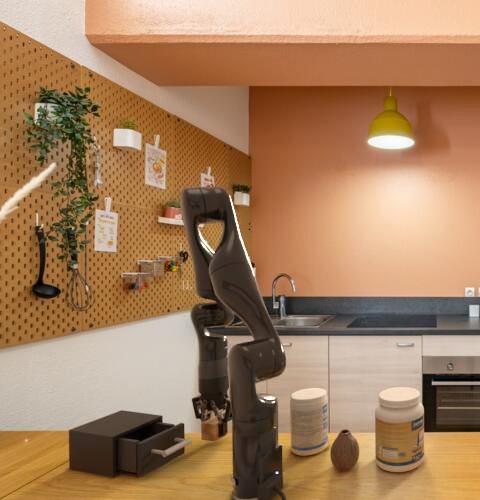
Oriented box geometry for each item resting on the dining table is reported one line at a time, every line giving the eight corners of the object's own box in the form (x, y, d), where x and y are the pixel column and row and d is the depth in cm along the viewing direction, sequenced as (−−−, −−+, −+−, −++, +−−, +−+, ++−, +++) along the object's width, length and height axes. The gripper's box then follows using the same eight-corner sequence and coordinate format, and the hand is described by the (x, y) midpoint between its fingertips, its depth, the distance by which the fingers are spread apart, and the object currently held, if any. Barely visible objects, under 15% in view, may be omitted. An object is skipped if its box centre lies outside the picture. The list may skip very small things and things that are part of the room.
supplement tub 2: (423, 474, 95) (423, 402, 95) (371, 475, 95) (371, 403, 95) (425, 448, 107) (424, 385, 107) (379, 449, 107) (378, 385, 107)
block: (228, 434, 114) (227, 417, 114) (214, 441, 109) (214, 424, 109) (215, 432, 115) (214, 416, 115) (201, 439, 111) (201, 422, 111)
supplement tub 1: (332, 450, 107) (332, 395, 107) (295, 461, 102) (295, 402, 102) (321, 436, 115) (321, 385, 115) (286, 445, 110) (286, 391, 110)
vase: (364, 461, 101) (364, 426, 101) (351, 476, 94) (350, 439, 94) (339, 458, 103) (339, 423, 103) (324, 472, 96) (324, 435, 96)
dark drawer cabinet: (163, 451, 107) (162, 415, 107) (113, 477, 95) (112, 437, 95) (122, 444, 111) (121, 410, 111) (69, 469, 99) (68, 429, 99)
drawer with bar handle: (199, 455, 103) (199, 425, 103) (157, 480, 92) (157, 446, 92) (145, 446, 108) (144, 417, 108) (98, 469, 97) (98, 436, 97)
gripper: (181, 376, 111) (183, 438, 111) (223, 379, 107) (225, 444, 107) (204, 368, 118) (206, 426, 118) (245, 371, 114) (246, 432, 114)
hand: (215, 434), depth 112 cm, fingers closed on block, 4 cm apart
